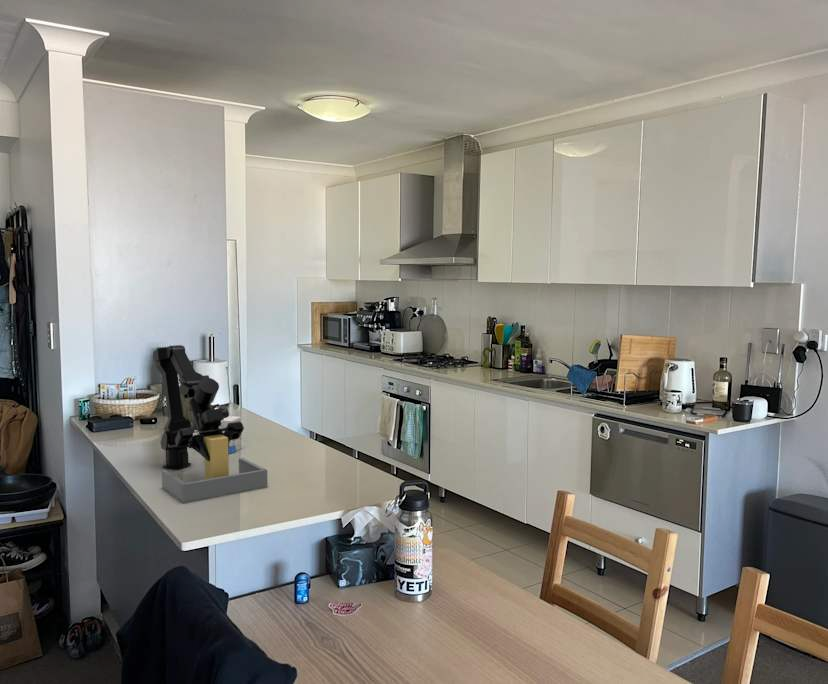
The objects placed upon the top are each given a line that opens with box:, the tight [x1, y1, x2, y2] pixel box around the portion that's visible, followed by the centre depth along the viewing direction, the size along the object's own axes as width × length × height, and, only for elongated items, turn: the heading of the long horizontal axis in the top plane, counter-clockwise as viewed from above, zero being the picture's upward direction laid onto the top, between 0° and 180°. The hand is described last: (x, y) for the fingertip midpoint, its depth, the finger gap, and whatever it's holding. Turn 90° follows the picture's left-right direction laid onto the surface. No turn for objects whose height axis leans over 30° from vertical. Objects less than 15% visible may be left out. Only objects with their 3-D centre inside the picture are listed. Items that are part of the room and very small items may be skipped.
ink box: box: [219, 415, 242, 455], centre depth 245 cm, size 9×5×12 cm, turn 168°
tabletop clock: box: [179, 386, 193, 428], centre depth 279 cm, size 14×9×25 cm, turn 179°
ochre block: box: [204, 435, 230, 480], centre depth 197 cm, size 5×5×12 cm
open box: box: [161, 457, 268, 504], centre depth 199 cm, size 17×24×6 cm
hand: (218, 458), depth 196 cm, fingers closed on ochre block, 5 cm apart
